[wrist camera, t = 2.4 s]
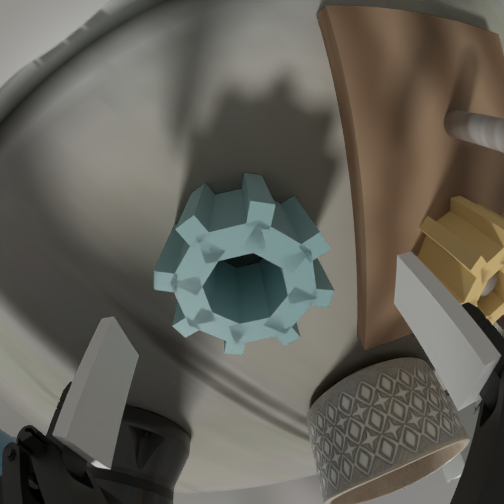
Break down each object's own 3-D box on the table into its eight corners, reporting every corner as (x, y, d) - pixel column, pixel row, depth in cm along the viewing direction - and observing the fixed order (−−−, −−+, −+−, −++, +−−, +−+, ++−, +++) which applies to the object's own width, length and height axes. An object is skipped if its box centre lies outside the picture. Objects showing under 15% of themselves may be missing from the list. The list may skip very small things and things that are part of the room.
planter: (440, 372, 31) (479, 442, 20) (350, 434, 36) (370, 503, 24) (393, 327, 25) (452, 432, 14) (275, 411, 30) (290, 509, 19)
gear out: (420, 314, 22) (454, 361, 17) (393, 239, 18) (441, 287, 13) (489, 259, 20) (529, 294, 15) (476, 177, 16) (532, 205, 11)
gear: (199, 304, 22) (192, 363, 17) (158, 195, 18) (129, 233, 13) (313, 279, 22) (337, 332, 16) (294, 161, 17) (322, 184, 12)
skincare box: (467, 386, 35) (502, 448, 22) (451, 406, 38) (481, 465, 25) (434, 398, 34) (469, 470, 21) (418, 418, 37) (447, 485, 24)
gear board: (357, 335, 25) (384, 393, 19) (316, 14, 13) (360, -27, 7) (480, 288, 24) (517, 326, 18) (483, 35, 12) (541, 33, 6)
